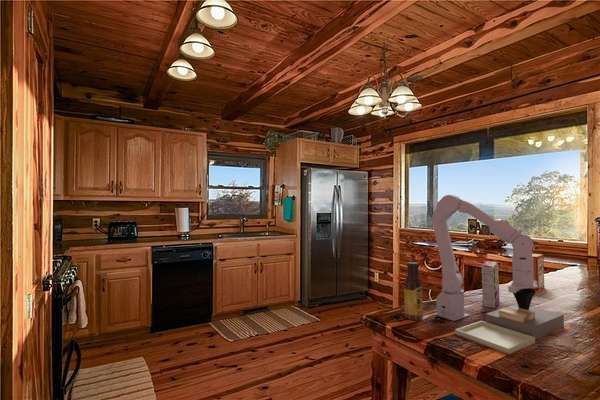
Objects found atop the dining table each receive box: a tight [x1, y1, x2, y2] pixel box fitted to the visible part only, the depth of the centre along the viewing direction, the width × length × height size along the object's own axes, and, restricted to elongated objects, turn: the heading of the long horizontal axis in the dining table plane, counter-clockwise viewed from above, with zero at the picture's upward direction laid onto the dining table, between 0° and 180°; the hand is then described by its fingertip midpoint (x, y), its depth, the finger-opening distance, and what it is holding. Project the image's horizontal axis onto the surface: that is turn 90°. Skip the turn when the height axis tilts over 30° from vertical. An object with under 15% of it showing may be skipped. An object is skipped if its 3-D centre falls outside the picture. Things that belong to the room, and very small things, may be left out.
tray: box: [454, 320, 536, 355], centre depth 98 cm, size 14×16×2 cm
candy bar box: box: [480, 260, 500, 309], centre depth 131 cm, size 11×5×16 cm, turn 143°
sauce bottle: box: [403, 261, 424, 321], centre depth 117 cm, size 6×6×20 cm
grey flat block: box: [485, 303, 565, 341], centre depth 107 cm, size 20×14×4 cm
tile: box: [498, 305, 535, 323], centre depth 105 cm, size 8×7×2 cm
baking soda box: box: [530, 253, 545, 292], centre depth 153 cm, size 10×6×16 cm
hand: (523, 311), depth 107 cm, fingers closed
